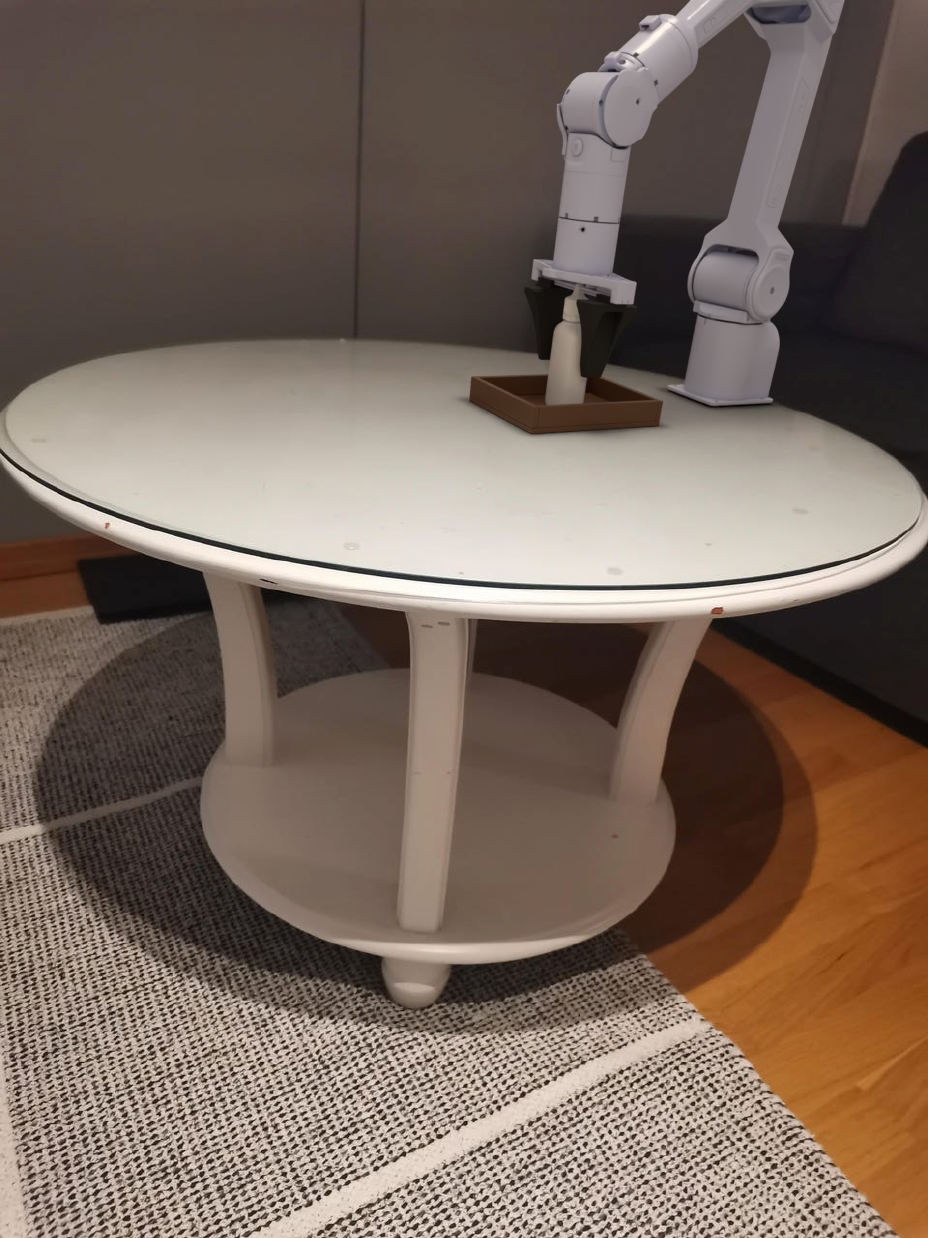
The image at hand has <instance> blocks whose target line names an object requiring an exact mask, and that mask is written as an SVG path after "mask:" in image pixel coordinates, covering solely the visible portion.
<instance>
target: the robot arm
mask: <svg viewBox="0 0 928 1238" xmlns="http://www.w3.org/2000/svg"><path fill="white" fill-rule="evenodd" d="M844 4H845V0H689V1H688V2H687V3H686V5H685V6H684V7H683V8H682V9H681V10H680V11H679V12H678V13H677V14H676V15H673V14H668V13H661V14H656V15H655V14H653V15H646V16H645V17H644V18H643V19H641V21H640V22H639V23H638V27H639V31H638V32H636V34H635V35H633V37H631V38H630V39H629V40H628V41H627V42H626V43H624V44H623V45H622V46H621V47H620V48H619V49H618V50H617V51H611V52H609V53H608V54H607V55H606V56H605V57H604V59H603V62H604V63H603V64H602V65H600V67H599V68H598V70H597V72H596V71H592V72H591V71H590V72H588V71H587V72H583V73H580V74H579V75H577V76H576V77H575V78H574V79H573V80H572V81H571V82H570V84H569V85H568V86H567V87H566V90H565V91H564V93H563V96H562V99H561V102H560V103H557V104H556V121H557V124H558V128H559V131H560V133H561V136H562V149H561V155H562V156H563V161H564V168H563V177H562V185H561V192H560V200H559V208H558V217H557V227H556V234H555V244H554V250H553V258H552V260H551V259H536V258H535V259H533V260H532V268H531V276H530V277H531V278H530V279H531V280H533V281H535V285H531V284H530V285H528V284H527V285H524V288H523V293H524V296H525V298H526V300H527V303H528V306H529V308H530V312H531V315H532V321H533V325H534V326H533V327H534V332H535V343H536V350H537V358H538V360H541V361H550V357H551V349H552V342H553V335H554V330H555V328H556V326H557V325H558V324H559V323H561V322H562V321H563V320H565V319H563V311H564V303H565V298H566V297H568V296H571V295H572V294H573V292H574V289H575V286H576V283H580V284H583V286H579V289H580V290H579V292H582V293H584V294H586V295H590V296H592V297H595V299H589V298H587V299H577V301H576V305H577V308H578V313H579V318H580V324H581V354H580V375H581V377H584V378H597V377H601V376H602V377H603V374H604V371H605V369H606V366H607V364H608V362H609V359H610V357H611V354H612V352H613V350H614V347H615V345H616V344H617V341H618V339H619V338H620V336H621V335H622V333H623V331H624V330H625V328H626V327H627V326H628V324H629V323H630V322H631V320H632V319H633V318H634V317H635V315H636V312H637V307H638V306H637V305H634V302H635V295H636V289H637V282H636V281H633V280H630V279H628V278H625V277H623V276H621V275H619V274H616V273H614V272H613V270H614V263H615V259H616V250H617V245H618V236H619V230H620V222H621V217H622V210H623V203H624V196H625V190H626V183H627V176H628V170H629V164H630V163H629V162H630V156H631V149H632V145H633V144H635V143H636V142H638V141H640V140H642V139H643V138H644V136H645V134H646V133H647V131H648V128H649V127H650V123H651V120H652V116H653V113H654V112H655V110H656V109H658V105H659V104H660V103H661V102H663V100H665V99H666V98H667V97H668V96H669V95H670V94H671V93H672V92H673V91H674V90H676V89H677V87H679V86H680V85H681V84H682V83H683V82H684V81H685V80H686V79H687V78H688V77H689V76H691V74H693V72H694V70H695V69H696V67H697V63H698V58H699V49H701V48H702V47H703V46H705V45H706V44H707V43H708V42H710V41H711V40H712V39H713V38H714V37H716V36H717V35H718V34H719V33H720V32H722V31H724V29H726V28H727V27H728V26H729V25H730V24H732V23H733V22H734V21H735V20H737V18H739V17H740V16H742V15H743V16H744V17H745V18H746V20H747V21H748V22H749V24H750V26H751V27H752V28H753V30H754V31H755V33H756V34H757V35H758V37H760V38H762V40H765V41H766V43H767V46H768V48H769V51H770V56H769V57H770V58H769V62H768V65H767V69H766V72H765V75H764V80H763V83H762V88H761V92H760V95H759V98H758V102H757V106H756V109H755V113H754V117H753V121H752V125H751V127H750V132H749V136H748V139H747V143H746V147H745V150H744V154H743V158H742V162H741V166H740V170H739V173H738V177H737V180H736V185H735V189H734V192H733V196H732V200H731V203H730V207H729V211H728V214H727V217H726V219H725V220H724V221H721V223H720V224H718V225H716V226H715V227H714V228H713V229H712V230H710V231H708V233H706V234H705V235H704V238H703V242H702V245H701V248H700V251H699V253H698V255H697V257H696V258H695V260H694V261H693V263H692V265H691V267H690V270H689V273H688V277H687V293H688V297H689V299H690V301H691V302H692V303H693V308H692V312H694V313H697V314H696V315H697V316H696V320H695V326H694V332H693V336H692V342H691V348H690V353H689V357H688V362H687V368H686V373H685V378H684V382H683V384H667V387H666V389H667V390H669V391H670V392H674V393H676V394H679V395H682V396H684V397H686V398H690V399H691V400H695V401H697V402H700V403H702V404H705V405H708V406H710V407H711V406H712V407H720V406H721V407H722V406H739V405H740V406H741V405H757V404H759V405H760V404H761V405H762V404H773V402H774V399H773V398H771V397H769V395H770V389H771V386H772V381H773V378H774V373H775V369H776V365H777V362H778V361H777V360H778V356H779V352H780V346H781V345H780V344H781V343H780V335H779V331H778V328H777V327H776V325H775V324H774V323H773V322H772V321H771V319H772V318H773V317H774V316H775V315H776V314H777V313H778V312H779V311H780V309H781V308H782V307H783V305H784V303H785V302H786V300H787V299H786V298H787V297H788V294H789V290H790V271H791V263H792V259H793V256H794V253H795V252H794V249H793V247H792V246H791V244H790V243H789V242H788V241H787V239H786V238H785V236H784V235H783V234H782V232H781V230H779V229H780V228H778V227H779V225H780V221H781V218H782V214H783V210H784V207H785V203H786V199H787V196H788V193H789V189H790V186H791V183H792V179H793V175H794V172H795V169H796V165H797V161H798V159H799V155H800V151H801V149H802V148H801V147H802V145H803V141H804V137H805V135H806V130H807V127H808V123H809V121H810V116H811V113H812V110H813V106H814V102H815V100H816V96H817V93H818V90H819V85H820V81H821V79H822V75H823V72H824V69H825V65H826V61H827V57H828V54H829V50H830V46H831V43H832V38H833V35H834V34H835V33H836V31H837V28H838V24H839V21H840V18H841V15H842V10H843V9H844V8H843V7H844ZM738 251H749V252H753V253H756V255H757V256H754V255H749V254H744V253H743V254H742V253H736V252H738ZM588 299H589V300H588Z"/></svg>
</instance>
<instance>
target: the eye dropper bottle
mask: <svg viewBox="0 0 928 1238" xmlns="http://www.w3.org/2000/svg"><path fill="white" fill-rule="evenodd" d="M575 284H576V286H575V289H574V292H573V294H572V295H571V296H568V297H566V298H565V303H564V311H563V319H565V320H563V321H562V322H561V323H559V324H558V325H557V326H556V328H555V330H554V335H553V342H552V349H551V357H550V360H549V366H548V373H547V374H548V381H547V389H546V397H545V403H546V405H559V404H580V403H583V402H584V395H585V388H586V381H587V378H584V377H581V375H580V354H581V324H580V318H579V313H578V308H577V305H576V301H577V299H588V300H590V299H589V298H587V297H586V295H585V293H582V292H579V290H580V289H579V286H584V284H581V283H576V282H575Z"/></svg>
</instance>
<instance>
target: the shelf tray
mask: <svg viewBox="0 0 928 1238" xmlns="http://www.w3.org/2000/svg"><path fill="white" fill-rule="evenodd" d="M547 381H548V373H542V374H539V373H538V374H507V375H506V374H505V375H503V374H502V375H477V376H476V375H473V376H471V377H470V385H469V398H468V400H469V402H470V403H473V404H475V405H477V406H478V407H480V408H481V409H484V410H486V411H488V412H490V413H491V414H494V415H495V416H497V417H499V418H500V419H503V420H505V421H507V422H508V423H510V424H511V425H514V426H516V427H518V428H520V429H521V430H523V431H525V432H527V433H529V434H532V435H533V434H535V435H536V434H548V433H564V432H580V431H581V432H582V431H597V430H613V429H628V428H629V429H630V428H643V427H644V428H645V427H658V426H660V423H661V422H660V420H661V416H662V410H663V405H664V401H663V400H661V399H659V398H656V397H654V396H652V395H649V394H647V393H644V392H641V391H639V390H636V389H634V388H631V387H630V386H629V387H628V386H626V385H624V384H621V383H619V382H616V381H614V380H612V379H610V378H606V377H604V376H603V375H602V376H601V377H597V378H587V381H586V388H585V395H584V402H583V403H580V404H559V405H546V403H545V397H546V389H547Z"/></svg>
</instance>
